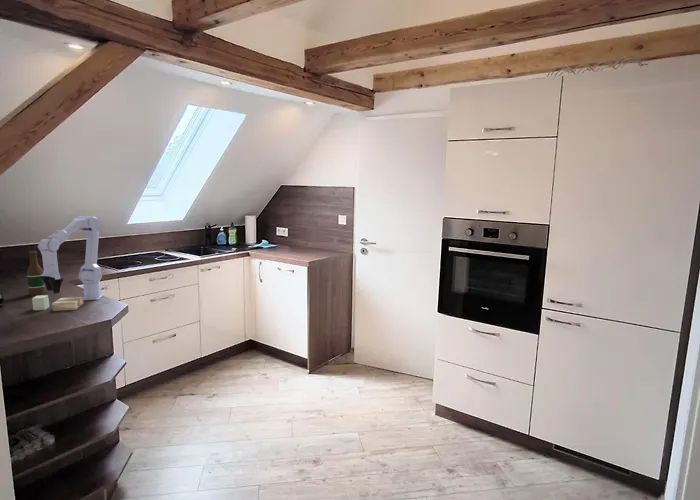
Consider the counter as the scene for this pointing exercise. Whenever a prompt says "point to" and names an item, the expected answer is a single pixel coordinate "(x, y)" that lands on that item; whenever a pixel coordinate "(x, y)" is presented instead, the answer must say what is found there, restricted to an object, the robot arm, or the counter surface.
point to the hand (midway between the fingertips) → (53, 291)
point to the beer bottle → (35, 276)
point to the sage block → (40, 302)
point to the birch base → (67, 303)
